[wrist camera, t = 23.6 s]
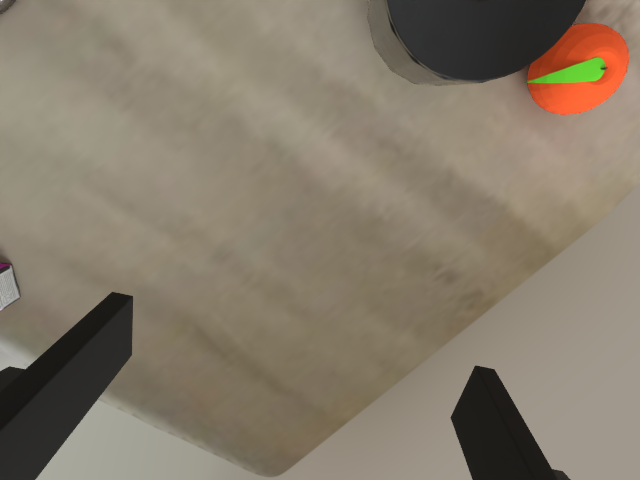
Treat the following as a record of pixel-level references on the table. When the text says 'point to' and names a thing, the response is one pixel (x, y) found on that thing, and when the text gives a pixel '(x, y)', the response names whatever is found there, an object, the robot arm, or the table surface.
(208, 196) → the table surface
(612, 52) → the clementine
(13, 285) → the candy bar box
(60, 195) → the table surface
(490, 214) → the table surface
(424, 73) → the black lidded canister
